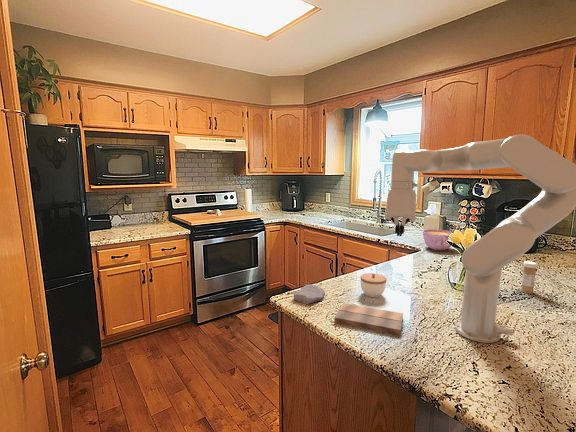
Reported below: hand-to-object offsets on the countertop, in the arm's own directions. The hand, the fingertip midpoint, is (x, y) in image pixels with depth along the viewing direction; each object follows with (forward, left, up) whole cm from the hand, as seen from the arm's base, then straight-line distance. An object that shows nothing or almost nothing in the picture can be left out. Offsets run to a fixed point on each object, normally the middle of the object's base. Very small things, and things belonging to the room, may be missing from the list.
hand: (399, 235), depth 115 cm
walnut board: (+8, +16, -29) cm, 34 cm away
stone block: (+34, +3, -30) cm, 45 cm away
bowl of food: (-20, -105, -29) cm, 111 cm away
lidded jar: (+10, -11, -29) cm, 33 cm away
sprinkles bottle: (-52, -40, -29) cm, 72 cm away
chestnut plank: (+8, +10, -29) cm, 32 cm away
